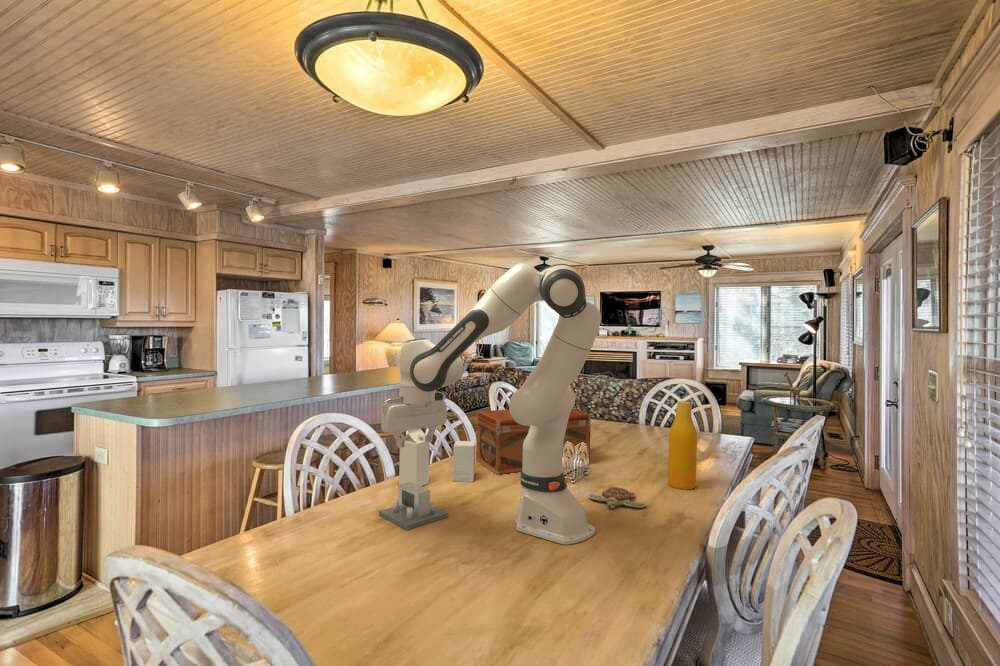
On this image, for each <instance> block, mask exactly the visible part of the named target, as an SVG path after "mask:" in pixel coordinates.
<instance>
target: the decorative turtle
mask: <svg viewBox="0 0 1000 666" xmlns="http://www.w3.org/2000/svg"><path fill="white" fill-rule="evenodd" d="M635 496H636V494H635V492H633V491H628V490H627V489H625V488H622V487H618V486H617V487H615V486H613V487H609V488H607V489H606V490H604V491H603V492H602V493H601V495H597V494H596V493H595V492H589V493H588V495H587V497H588V498H589V499H591V500H595V501H598V502H606V506H607V508H608V509H610V510H611V509H614V508H616V507H619V506H626V507H631V508H632V507H633V508H639V509H642V508H645V507H646V505H647V502H646V501H637V502H636V501H631V498H635Z"/></svg>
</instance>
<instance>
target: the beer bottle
mask: <svg viewBox="0 0 1000 666" xmlns="http://www.w3.org/2000/svg"><path fill="white" fill-rule="evenodd" d="M691 405H692V404H691V402H690V401H682V400H681V401H677V404H676V411H675V412H676V413H675V416H674V417H675V419H674V420H673V423H672V424H671V426H670V428H669V433H668V434H669V435H668V464H667V465H668V467H667V470H668V471H667V485H668V486H669V487H672V488H673V487H674V488H673V489H677V488H678V490H683V489H690V490H694V489H695V488H696V485H697V456H698V454H697V453H698V434H697V433H698V432H697V430H696V427H695V424H694V422H693V418H692V406H691ZM693 488H694V489H693Z"/></svg>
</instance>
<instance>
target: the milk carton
mask: <svg viewBox="0 0 1000 666" xmlns="http://www.w3.org/2000/svg"><path fill="white" fill-rule="evenodd" d="M426 435H427V434H426V433H424V431H423V430H422V428H420V429H414V430H408V431H407V434H406V435H405V436H404V437H403V438H401V440H403V441H405V444H404V445H405V446H404V447H402V448H399V469H398V471H399V476H398V479H399V481H398V483H399V484H402V483H406V482H412V483H415V484H417V485H419V486H422V487H424V486H426V485H427V484H429V483H430V480H429V478H430V477H429V475H430V472H429V471H430V442H428V443H427V442H425V436H426Z"/></svg>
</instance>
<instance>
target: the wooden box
mask: <svg viewBox="0 0 1000 666" xmlns="http://www.w3.org/2000/svg"><path fill="white" fill-rule="evenodd" d="M591 420H592V414H590V413H587V412H585V411H581V410H578V409H574V408H572V410H571V412H570V415H569V419H568V424H567V428H566V432H565V437H564V442H563V444H564V443H565V442H567V441H569V442H572V443H573V444H574V446H576V445H577V444H579V443H581V442H584V443H586V444H587V446H588V449H589V464H590V463H591V427H592V426H591V425H592V424H591ZM529 429H530V426H526V425H521V424H519V423H517V422H516V421H515V420H514V419H513V418H512V416H511V414H510V410H509V409H495V410H479V411H476V441H475V462H476V461H477V462H476V463H478V464H479V463H480V464H479V465H481V466H482V467H483V468H485V469H486V468H487V470H488V471H489V470H490V471H489V472H491V473H492V472H493V474H494V475H495V474H496V475H498V476H504V475H503V474H507V475H512V474H511V473H515V474H519V473H518V472H521V470H522V462H523V442H524V440H525V438H526V436H527V434H528V432H529ZM496 475H495V476H496Z"/></svg>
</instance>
